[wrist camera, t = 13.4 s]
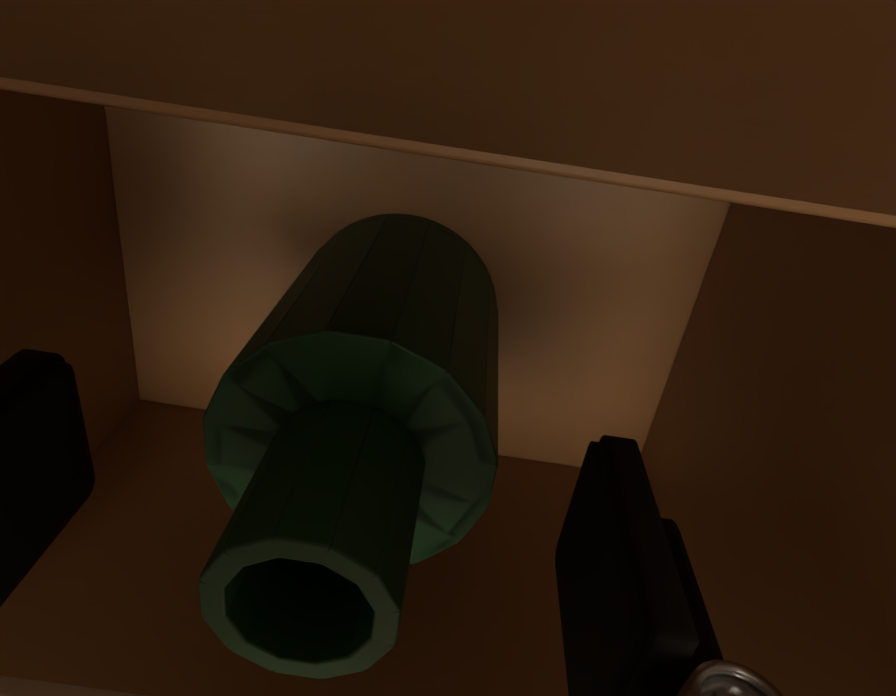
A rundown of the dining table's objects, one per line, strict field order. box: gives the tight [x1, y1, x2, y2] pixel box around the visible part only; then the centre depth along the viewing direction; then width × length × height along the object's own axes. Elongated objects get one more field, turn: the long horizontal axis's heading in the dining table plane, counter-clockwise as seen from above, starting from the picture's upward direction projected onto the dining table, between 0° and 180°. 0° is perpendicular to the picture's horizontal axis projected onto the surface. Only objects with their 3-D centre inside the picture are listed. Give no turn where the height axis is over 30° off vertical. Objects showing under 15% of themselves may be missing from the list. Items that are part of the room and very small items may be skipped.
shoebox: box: [0, 77, 896, 696], centre depth 13 cm, size 13×18×12 cm
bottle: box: [198, 214, 498, 679], centre depth 14 cm, size 6×6×11 cm
